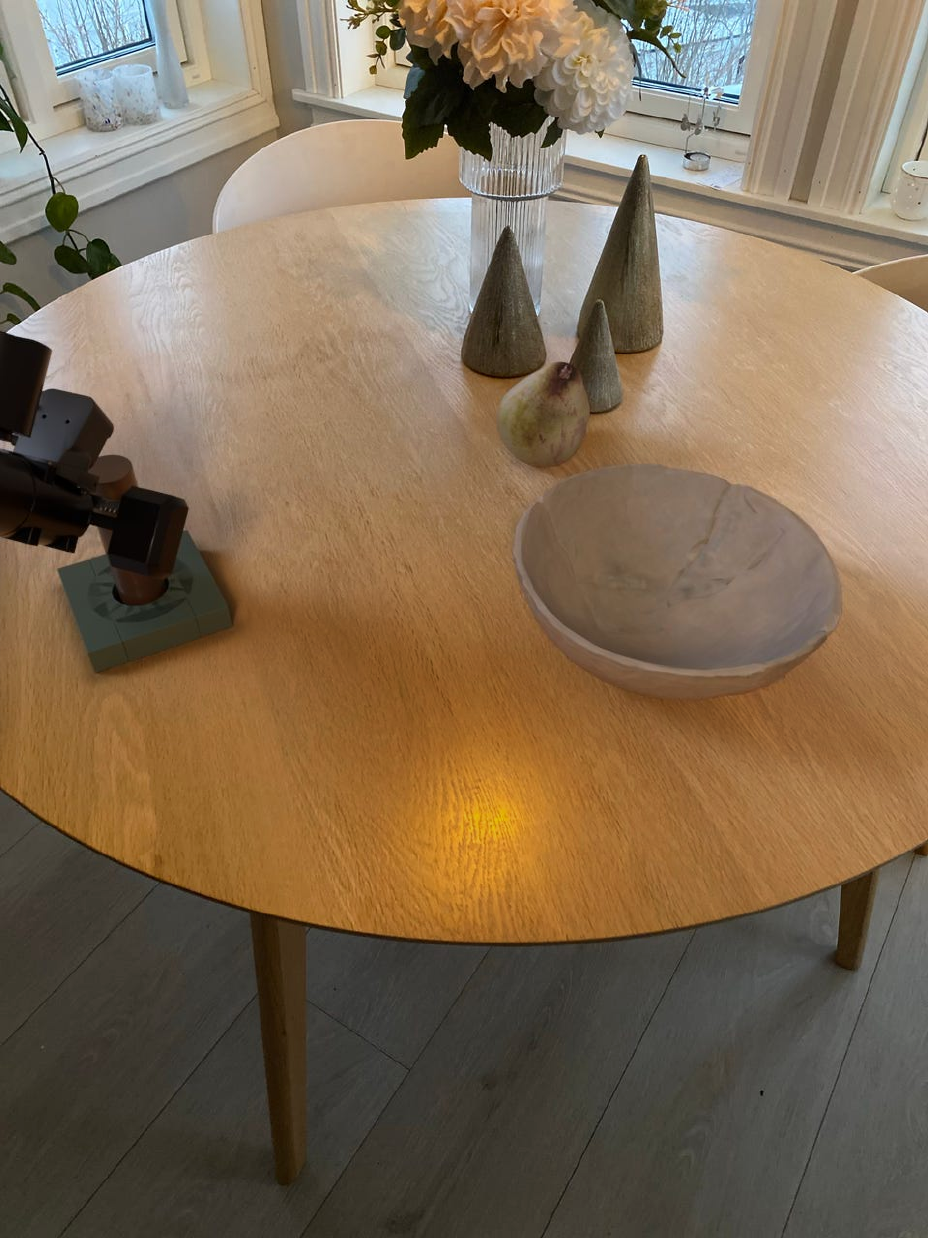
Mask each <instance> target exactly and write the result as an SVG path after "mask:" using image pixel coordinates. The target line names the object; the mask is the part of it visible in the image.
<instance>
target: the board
mask: <svg viewBox="0 0 928 1238" xmlns="http://www.w3.org/2000/svg"><path fill="white" fill-rule="evenodd" d="M56 571H57V573H58V577H59V580H60V582H61V585H62V587H63V591H64V593H65V596H66V598H67V601H68V604H69V607H70V610H71V612H72V615H73V618H74V620H75V623H76V626H77V629H78V632H79V635H80V637H81V640H82V643H83V645H84V648H85V651H86V654H87V656H88V659H89V661H90V664H91V667H92V670H93V672H94V674H97V673H100V672H103V671H106V670H109V669H112V668H115V667H119V666H121V665H123V664H127V663H131V662H133V661H136V660H139V659H141V658H145V657H148V656H151V655H153V654H157V653H160V652H162V651H166V650H169V649H171V648H174V647H177V646H180V645H183V644H186V643H189V642H192V641H195V640H198V639H200V638H203V637H206V636H209V635H213V634H215V633H217V632H218V633H219V632H220V631H224V630H227V629H229V628H233V626H234V625H233V622H232V616H231V611H230V607H229V605H228V603H227V601H226V599H225V597H224V596H223V594H222V591H221V590H220V588H219V586H218V584H217V582H216V580H215V578H214V577H213V575H212V573H211V571H210V570H209V568H208V566H207V564H206V562H205V560H204V558H203V556H202V555H201V552H200V550H199V548H198V547H197V545H196V543H195V542H194V539H193V538H192V536H191V534H190V532H189V530H188V529H184V530H183V534H182V537H181V541H180V545H179V549H178V553H177V557H176V561H175V565H174V569H173V573H172V574H171V575H170V576H168V577H167V578H165V579H164V581H165V585H166V588H167V591H166V592H165V594H164V595H163V596H162V597H160V598H159V599H157V600H156V601H154V602H152V603H149V604H146V605H140V606H129V605H124V604H122V602H121V599H120V596H119V593H118V590H117V587H116V584H115V581H114V577H113V574H112V571H111V568H110V565H109V562H108V559H107V556H106V553H105V554H101V555H98V556H95V557H94V556H93V557H91V558H89V559H85V560H81V561H78V562H75V563H72V564H68V565H65V566H61V567H58V568H57V569H56Z"/></svg>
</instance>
